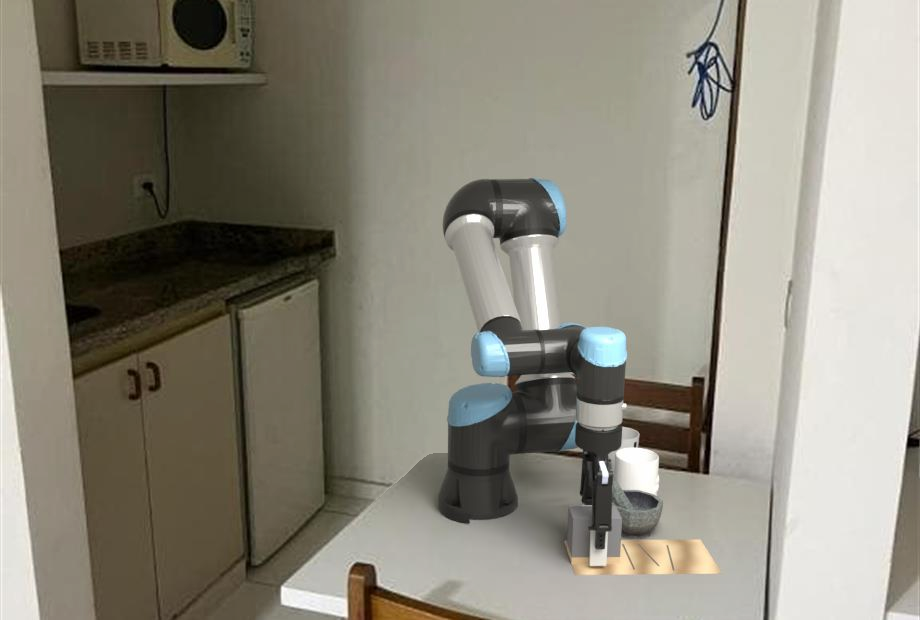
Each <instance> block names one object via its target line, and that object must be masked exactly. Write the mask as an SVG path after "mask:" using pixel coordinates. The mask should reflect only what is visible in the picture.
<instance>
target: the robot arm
mask: <svg viewBox="0 0 920 620" xmlns="http://www.w3.org/2000/svg"><path fill="white" fill-rule="evenodd" d="M445 207H446V208H445V210H444V213H443V217H442V231H443V232H442V234H443V236H444V240H445V243H446V245H447V247H448V248H449V249H450V250H451V251H453V252H454V255H455V258H456V262H457V266H458V269H459V272H460V275H461V279H462V281H463V285H464V289H465V292H466V295H467V299H468V302H469V305H470V309H471V311H472V315H473V318H474V322H475V326H476V329H477V333H475V334H474V335H473V337H472V339H471V343H470V356H471V365H472V367H473V371H474V372H475V373H476V374H477V376H479V377H484V378H485V377H486V378H497V377H498V378H505V377H510V376H511V377H513V376H519V378H518V379H517V380H516V381H515V383H514V387H515V391H513V392H512V390H511V388H510V387H509V386H507V385H506V384H503V383H497V382H496V383H492V382H485V383H483V382H482V383H476V384H472V385H467V386H465V387H462V388H461V389H460V388H459V390H457V391H456V392H454V393H453V394H452V396H451V397H450V398H449V401H448V408H447V409H448V412H447V418H446V423H447V470H446V473H445V476H444V479H443V481H442V484H441V487H440V489H439V492H438V496H437V497H438V499H437V505H438V507H437V509H438V511H439V512H440V513H441V515H443V516H444V517H446V518H448V519H450V520H452V521H455V522H459V523H465V524H470V522H471V521H489V520H495V519H501V518H504V517H506V516H509V515H510V514H513V513H514V512H515V511H516V510H517V508H518V506H519V503H518V501H519V498H518V493H517V490H516V486H515V482H514V481H513V477H512V474H511V471H510V458H511V455H513V456H514V455H523V454H524V455H525V454H536V453H537V454H538V453H549V452H556V453H559V452H562V451H570V450H574V449H577V448H579V449H581V450H582V460H581V461H582V463H581V475H580V477H581V478H580V489H579V494H580V495H579V496H580V497H581V500H580V501H581V504H582V505H581V506H592V522H593V525H592V526H588V530H591V532H590V554H589V565H590V566H606V563H607V543H608V531H611V530H612V483H613V476H614V474H613V471H610V470H611V469H612V463H611V459H608V454H609V453H611V452H613V451H616V450H618V449H619V448H620V447H621V444H622V427H623V426H622V423H623V416H624V415H623V410H626V409H627V406H628V405H627V403H626V402H625V403H624V395H625V382H626V369H627V368H626V365H627V358H628V350H627V337H626V334H625V332H623V331H622V330H621V329H617V328H613V327H609V326H591V327H590V326H589V327H587V326H583V325H581V324H578V323H575V322H566V323H561V314H560V306H559V297H558V289H557V280H556V273H555V264H554V254H553V251H554V249H555V248H556V247H557V245H558V244H559V243H560V241H559V237H561V236H562V235H563V234H564V233H565V231H566V228H567V208H566V202H565V199H564V195H563V193H562V191H561V189H560V187H559V186H558V185H557V184H556V183H555V182H553V181H552V180H549V179H542V178H541V179H540V178H535V177H529V178H496V179H495V178H494V179H493V178H492V179H490V178H481V179H475V180H473V181H470V182H468V183H466V184H465V185H463V186H461V187H460V188H459V189H458V190H457V191H456V192H454V194H453V196H452V197H451V198H450V200H449V201H448V203H447V204H446V206H445ZM493 239H499V246H500V250H501V251H503V252H504V253H505V254H506V255H508V258H509V267H510V277H511V285H512V286H511V287H512V293H511V289H510V287H509V283H508V280H507V278H506V275H505V272H504V269H503V266H502V264H501V261H500V257H499V255H498V251H497V249H496V246H495V245H496V244H495V243H494V240H493ZM573 374H574V375H573ZM575 376H576V377H577V378H576V377H575ZM576 379H577V382H576ZM576 383H577V384H576ZM470 520H471V521H470Z"/></svg>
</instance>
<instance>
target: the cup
mask: <svg viewBox="0 0 920 620" xmlns="http://www.w3.org/2000/svg"><path fill="white" fill-rule="evenodd" d="M639 443H640V433H639V431H638V430H637V429H633V428H631V427H625V426H622V444H621V447H620V448H619V449H618V450H620V449H623V448H639ZM618 450H616V451H613V452H611V453H609V454H608V459H611V463H612V469H611V470H610V471H613V473H614V468H615V454H616V452H617V451H618Z"/></svg>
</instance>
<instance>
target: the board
mask: <svg viewBox="0 0 920 620" xmlns="http://www.w3.org/2000/svg"><path fill="white" fill-rule="evenodd" d="M563 542H564V545H565V548H566V550H567V540H563ZM571 568H572V569H573V573H574V576H593V575H594V576H595V575H596V576H604V575H607V576H608V575H610V576H611V575H615V576H618V575H619V576H620V575H623V576H625V575H627V576H628V575H698V574H700V575H701V574H702V575H709V574H711V575H713V574H715V575H717V574H719V575H720V574H721V575H722V574H723V573H722V571H721V569H720V568H719V566H718V565H717V563H716V561H715V560H714V559H713V557H712V556H711V553H709V551H708V549H707V548H706V546H705V544H704V543H703V541H702V540H701V538H699V539H692V538H691V539H621V549H620V564H606V566H590V565H589V564H571Z"/></svg>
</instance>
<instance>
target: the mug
mask: <svg viewBox="0 0 920 620" xmlns="http://www.w3.org/2000/svg"><path fill="white" fill-rule="evenodd" d="M659 461H660V457H659V454H657V452H654V451H652V450H650V449H647V448H641V447H638V448H623V449H620V450H618V451H617V452H616V454H615V468H614V474H615V479H616V481H617V482H618V484H619V485H620V487H621V489H622V490H640V491H644V492H647V493H651V494H654V495H656V496H657V497H658V491H659V485H660V484H659V483H660V476H659V467H660V465H659V464H660V462H659Z"/></svg>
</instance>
